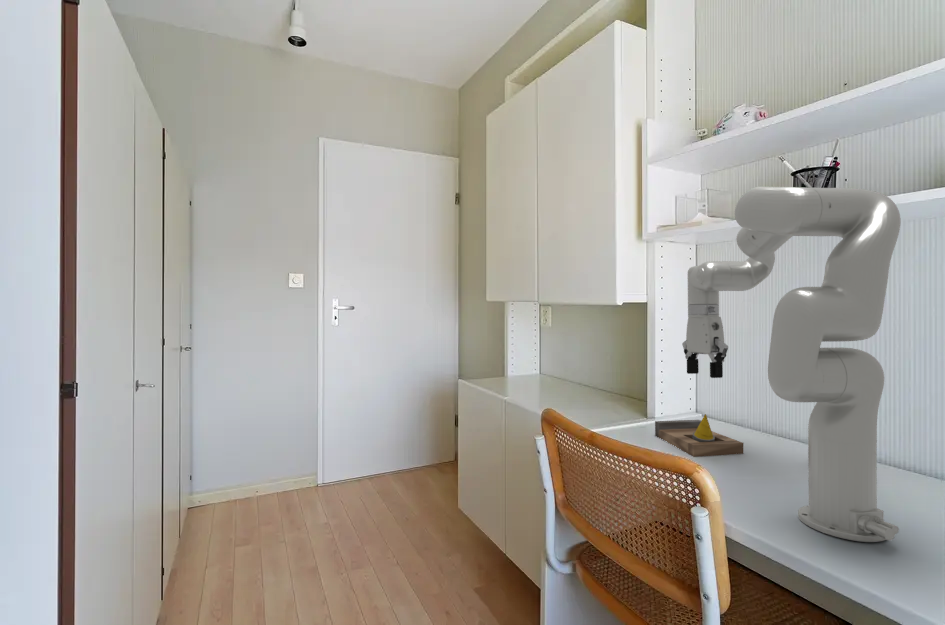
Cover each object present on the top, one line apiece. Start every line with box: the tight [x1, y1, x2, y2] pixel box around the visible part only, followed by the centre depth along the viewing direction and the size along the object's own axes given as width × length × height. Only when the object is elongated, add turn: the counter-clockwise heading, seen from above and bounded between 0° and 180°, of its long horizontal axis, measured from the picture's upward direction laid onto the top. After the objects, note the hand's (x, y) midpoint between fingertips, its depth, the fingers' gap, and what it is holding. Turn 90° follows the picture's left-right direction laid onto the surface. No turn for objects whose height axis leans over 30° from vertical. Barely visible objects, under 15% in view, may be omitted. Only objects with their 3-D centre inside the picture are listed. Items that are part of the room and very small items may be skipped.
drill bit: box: [692, 414, 715, 442], centre depth 123 cm, size 5×5×10 cm
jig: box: [654, 419, 744, 458], centre depth 127 cm, size 18×14×5 cm
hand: (704, 375), depth 124 cm, fingers open, 9 cm apart
